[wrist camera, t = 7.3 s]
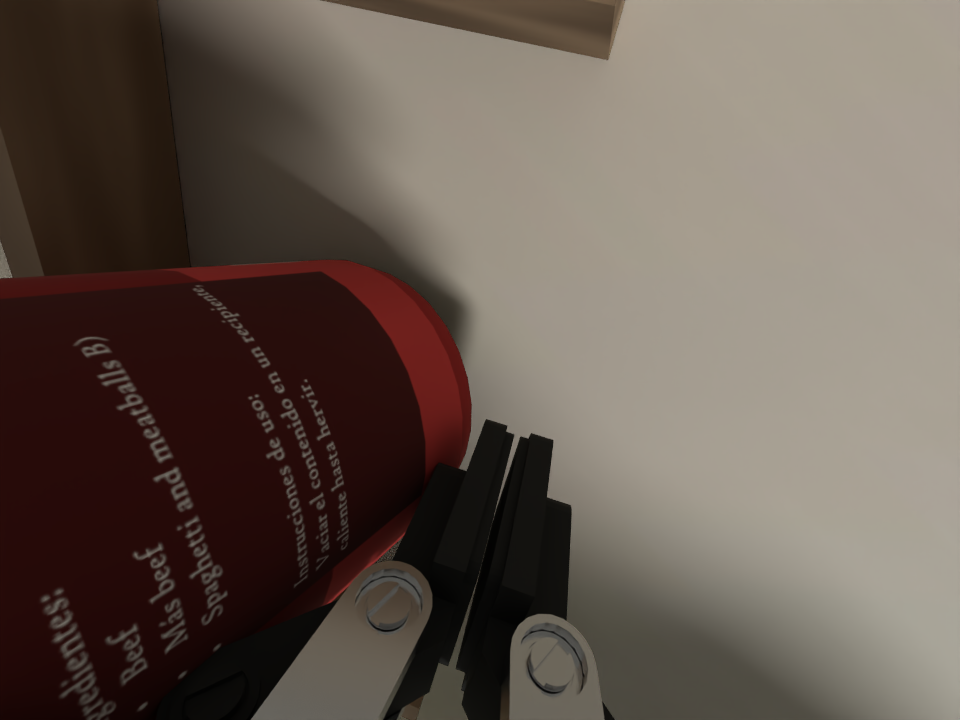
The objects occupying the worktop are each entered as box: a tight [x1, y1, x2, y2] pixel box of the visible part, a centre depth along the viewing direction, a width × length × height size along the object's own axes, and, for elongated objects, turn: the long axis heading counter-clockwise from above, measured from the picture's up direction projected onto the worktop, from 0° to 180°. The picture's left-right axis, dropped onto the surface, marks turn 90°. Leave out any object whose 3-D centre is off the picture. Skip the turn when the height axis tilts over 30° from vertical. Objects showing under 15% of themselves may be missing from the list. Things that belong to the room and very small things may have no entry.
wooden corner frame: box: [0, 0, 625, 720], centre depth 13 cm, size 12×21×4 cm, turn 169°
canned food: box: [0, 260, 472, 720], centre depth 8 cm, size 8×8×11 cm
